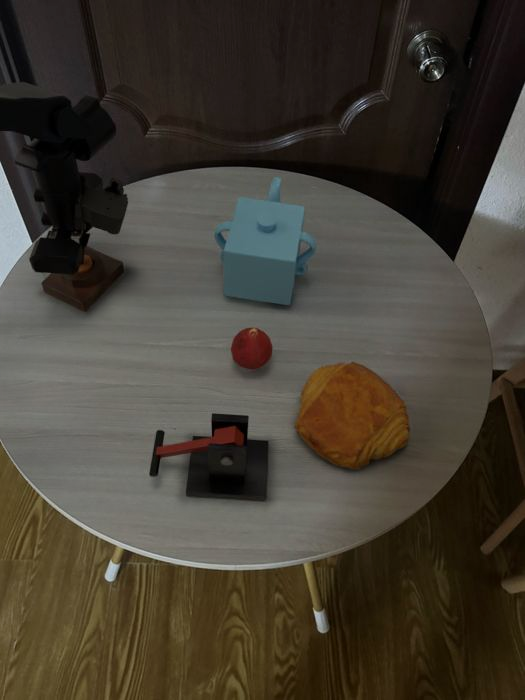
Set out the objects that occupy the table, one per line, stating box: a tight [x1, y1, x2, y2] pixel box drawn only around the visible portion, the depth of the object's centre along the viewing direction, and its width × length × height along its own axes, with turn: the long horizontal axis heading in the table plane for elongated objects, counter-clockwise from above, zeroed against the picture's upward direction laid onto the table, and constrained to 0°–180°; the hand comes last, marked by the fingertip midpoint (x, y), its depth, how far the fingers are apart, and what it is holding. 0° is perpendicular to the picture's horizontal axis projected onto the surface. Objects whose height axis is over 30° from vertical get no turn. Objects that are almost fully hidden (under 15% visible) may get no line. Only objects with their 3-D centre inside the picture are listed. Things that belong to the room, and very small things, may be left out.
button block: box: [40, 245, 125, 313], centre depth 96 cm, size 10×8×4 cm
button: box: [75, 255, 93, 274], centre depth 95 cm, size 4×4×2 cm
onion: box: [230, 327, 273, 371], centre depth 87 cm, size 6×6×8 cm
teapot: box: [213, 176, 317, 306], centre depth 97 cm, size 18×16×13 cm
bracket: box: [185, 412, 270, 502], centre depth 76 cm, size 10×8×10 cm
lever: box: [148, 426, 244, 478], centre depth 75 cm, size 12×6×2 cm, turn 88°
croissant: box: [293, 361, 411, 471], centre depth 82 cm, size 14×16×8 cm
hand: (79, 262), depth 94 cm, fingers closed, pressing on button
